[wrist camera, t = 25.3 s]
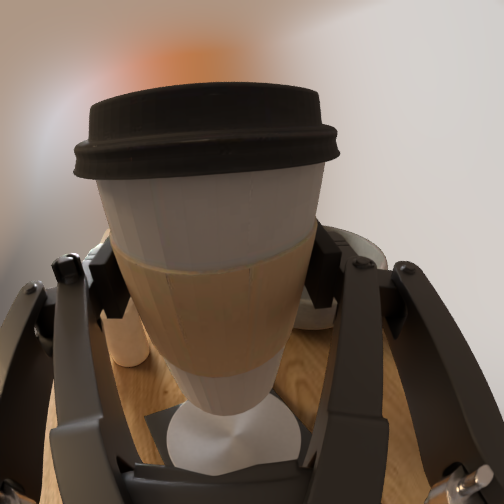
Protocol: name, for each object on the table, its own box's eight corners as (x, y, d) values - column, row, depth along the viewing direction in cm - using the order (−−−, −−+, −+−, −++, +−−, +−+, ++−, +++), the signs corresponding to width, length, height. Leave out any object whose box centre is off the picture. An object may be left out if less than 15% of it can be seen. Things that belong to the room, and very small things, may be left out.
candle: (121, 334, 36) (101, 276, 31) (155, 341, 35) (138, 281, 31) (105, 362, 31) (78, 304, 26) (141, 371, 31) (117, 311, 26)
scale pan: (150, 412, 23) (148, 410, 23) (255, 371, 28) (255, 367, 28) (204, 517, 14) (203, 516, 14) (326, 453, 19) (328, 451, 19)
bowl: (281, 260, 54) (284, 211, 49) (383, 295, 44) (398, 242, 39) (211, 318, 40) (205, 258, 35) (342, 381, 30) (365, 321, 25)
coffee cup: (316, 341, 18) (346, 100, 11) (276, 467, 11) (331, 71, 3) (193, 311, 21) (171, 101, 14) (120, 403, 13) (19, 127, 6)
